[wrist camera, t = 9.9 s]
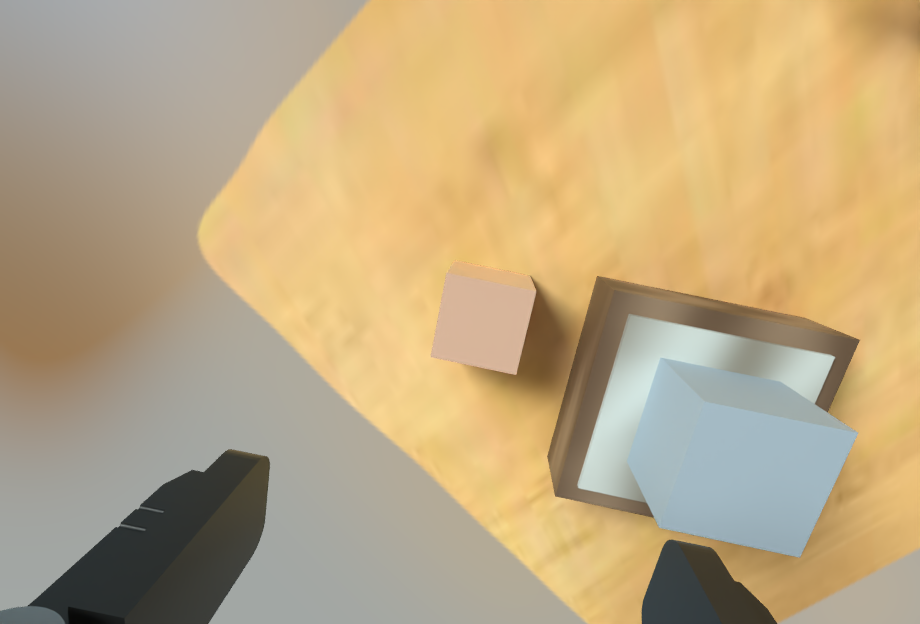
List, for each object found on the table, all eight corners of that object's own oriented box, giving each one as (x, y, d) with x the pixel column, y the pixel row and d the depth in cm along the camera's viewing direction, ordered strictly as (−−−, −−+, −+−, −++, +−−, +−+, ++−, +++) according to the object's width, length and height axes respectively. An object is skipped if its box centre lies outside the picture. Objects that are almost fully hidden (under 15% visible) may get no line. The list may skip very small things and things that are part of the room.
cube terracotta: (529, 275, 27) (536, 291, 22) (513, 346, 28) (516, 374, 23) (454, 259, 27) (446, 272, 22) (440, 331, 28) (430, 357, 24)
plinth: (805, 318, 26) (864, 341, 22) (732, 495, 29) (772, 546, 25) (597, 276, 26) (616, 291, 22) (547, 456, 29) (555, 499, 25)
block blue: (780, 381, 22) (858, 432, 18) (739, 484, 24) (799, 557, 19) (660, 357, 23) (704, 401, 18) (626, 461, 24) (658, 527, 19)
